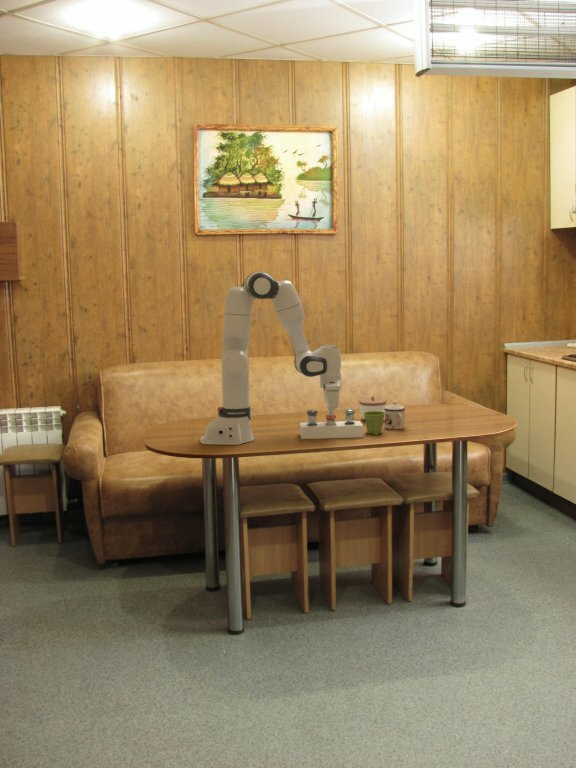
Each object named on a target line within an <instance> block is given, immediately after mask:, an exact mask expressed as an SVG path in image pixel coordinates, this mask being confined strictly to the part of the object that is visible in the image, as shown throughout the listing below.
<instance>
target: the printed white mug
mask: <svg viewBox="0 0 576 768" xmlns="http://www.w3.org/2000/svg"><path fill="white" fill-rule="evenodd" d="M384 409H385V415H384V428H385V429H387V428H388V430H401V429H402V428H403V429H404V428H405V415H406V414H405V412H406V411H405V410H406V408H405V406H402V405H400V404H399V403H398V401H392V403H391V404H389V405H386V407H385V408H384Z"/></svg>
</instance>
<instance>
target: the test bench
mask: <svg viewBox="0 0 576 768" xmlns="http://www.w3.org/2000/svg"><path fill="white" fill-rule="evenodd" d="M299 436H300V439H301V440H316V439H317V440H319V439H320V440H321V439H349V438H364V425H363V424H362V422H361V421H360V420H354V424H353V425H346V421H343V420H341V421H335V425H327V421H317V426H308V421H307V422H299Z"/></svg>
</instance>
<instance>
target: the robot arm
mask: <svg viewBox="0 0 576 768" xmlns="http://www.w3.org/2000/svg"><path fill="white" fill-rule="evenodd" d="M268 299H269V300H270V301H271V302H272V304H273V307H274V309H275V311H276V315H277V317H278V319H279V321H280V323H281V324H282V326H283V328H284V329H285V330H286V333H287V334H288V337H289V340H290V342H291V345H292V346H291V347H292V349H293V351H294V361H293V363H294V364H293V365H294V367H295V369H296V371H297V372H298V373H299V374H302V375H303V376H305V377H308V378H313V377H317V376H319V377H320V378H319V381H320V382H319V383H320V385H319V386H320V388H321V389H322V391H323V392H324V394H323V395H324V398H323V399H324V402H325V404H326V405H327V408H328V409H327V410H328V415H329V416H333V415H335V414H334V412H335V411H334V410H336V409H338V408H339V402H340V401H339V400H340V391H341V389H342V374H341V369H342V368H341V367H342V364H341V363H342V361H341V360H342V359H341V357H342V356H341V352H340V349H339V348H338V347H337V346H334V345H332V344H322V345H321V346H320V347H319V348H316V349H315V350H314V351H311V349H310V348H309V345H308V341H307V340H306V336H305V333H304V323H305V320H306V316H305V312H304V311H305V310H304V307H303V303H302V301H301V297H300V295H299V293H298V291H297V290H296V288H295V287H294V284H293V283H292V282H291V281H290V280H279V281H277V280H275V279H274V278H273V276H271V275H270V274H268V273H267V272H265V271H261V270H257V271H253V272H252V273H250V274H249V275H248V276H247V277H246V279H245V281H244V282H243V283H242V285H241V286H234V287H231V288H229V290H228V291H227V294H226V299H225V304H224V314H223V325H222V326H223V331H222V347H221V358H220V359H221V361H220V362H221V387H222V388H221V389H222V391H221V393H222V406H217V409H216V410H217V415H218V416H216V418H214V419H213V420H212V421H211V422H209V424H207V426H206V428H205V433H204V435H202V436H201V437H200V439H199V442H200V444H202V445H221V446H222V445H232V446H237V445H238V446H239V445H242V444H245V443H249V442H253V441H254V440H255V437H254V435H253V434H254V433H253V429H252V424H251V420H252V419H251V418H252V408H251V406H250V374H249V373H250V368H249V367H250V366H249V365H250V362H249V349H250V348H249V345H250V334H251V323H252V322H251V321H252V307H253V303H254V302H255V300H268Z"/></svg>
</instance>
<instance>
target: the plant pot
mask: <svg viewBox="0 0 576 768" xmlns="http://www.w3.org/2000/svg"><path fill="white" fill-rule="evenodd" d="M363 414H364V417H365V419H364V420H365V427H366V431H367V434H373V435H380V434H381V433H382V430H383V422H384V419H385V412H381V411H369V412H364V413H363Z"/></svg>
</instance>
